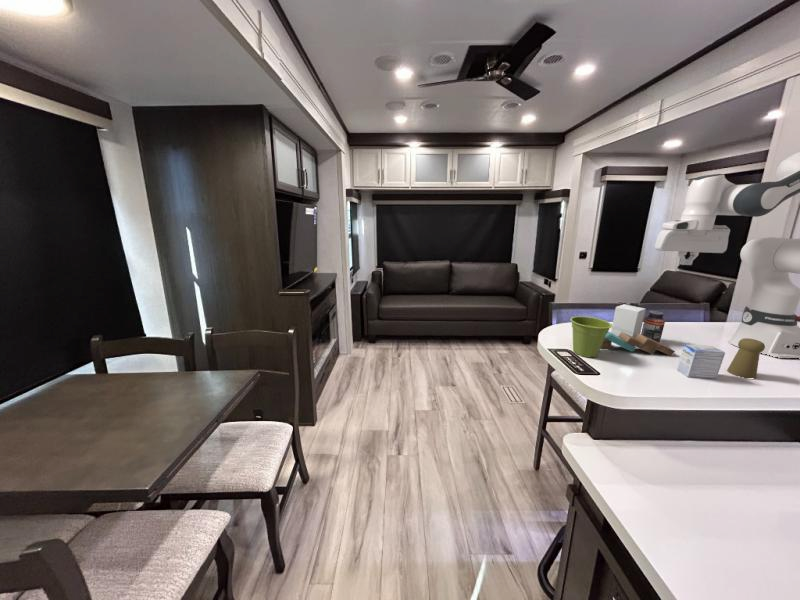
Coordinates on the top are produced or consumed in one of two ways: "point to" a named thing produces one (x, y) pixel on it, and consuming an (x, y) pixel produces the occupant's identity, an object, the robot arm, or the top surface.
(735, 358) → the cork
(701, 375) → the medicine box
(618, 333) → the supplement box
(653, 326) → the supplement bottle
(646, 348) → the domino
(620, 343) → the domino
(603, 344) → the domino
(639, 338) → the domino
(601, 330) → the plant pot
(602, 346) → the domino
